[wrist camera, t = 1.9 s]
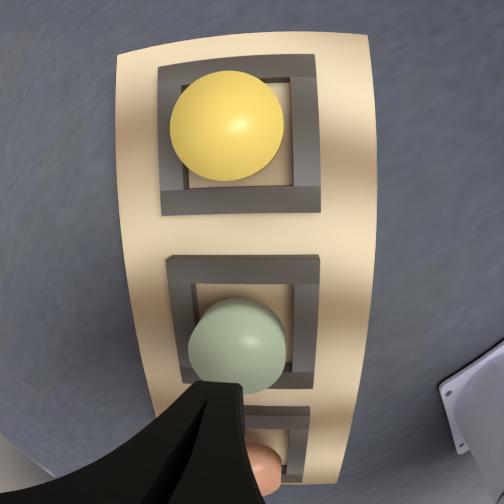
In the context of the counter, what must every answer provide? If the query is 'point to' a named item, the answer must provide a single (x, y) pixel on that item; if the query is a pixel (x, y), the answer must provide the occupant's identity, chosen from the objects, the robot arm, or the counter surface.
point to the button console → (258, 230)
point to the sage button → (239, 345)
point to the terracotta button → (265, 466)
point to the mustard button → (227, 126)
